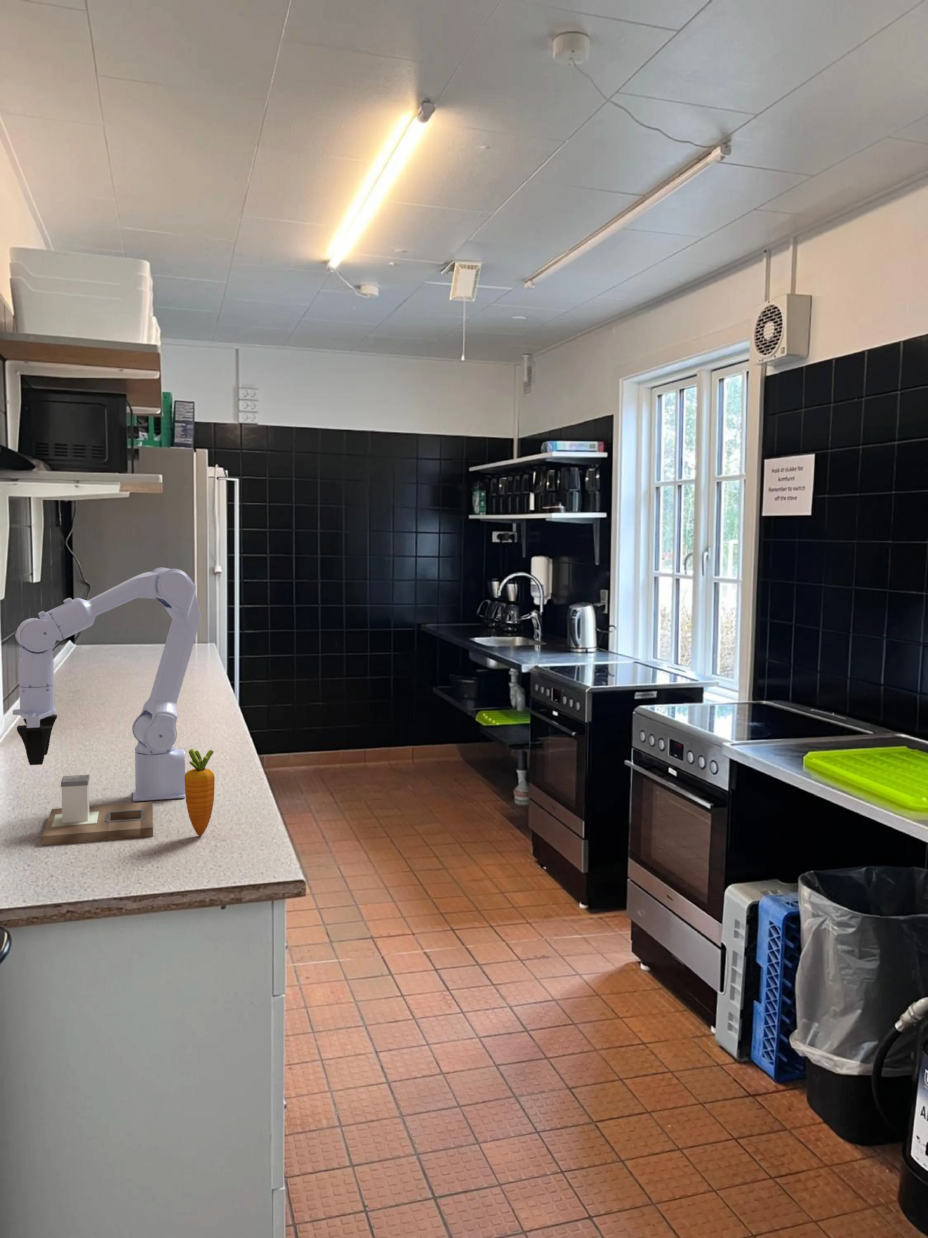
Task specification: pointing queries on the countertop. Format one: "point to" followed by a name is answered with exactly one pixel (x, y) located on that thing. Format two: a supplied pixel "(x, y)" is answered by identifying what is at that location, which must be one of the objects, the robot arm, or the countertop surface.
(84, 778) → the plug
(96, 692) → the countertop surface
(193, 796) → the carrot
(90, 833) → the brown board with panel
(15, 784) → the countertop surface
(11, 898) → the countertop surface
